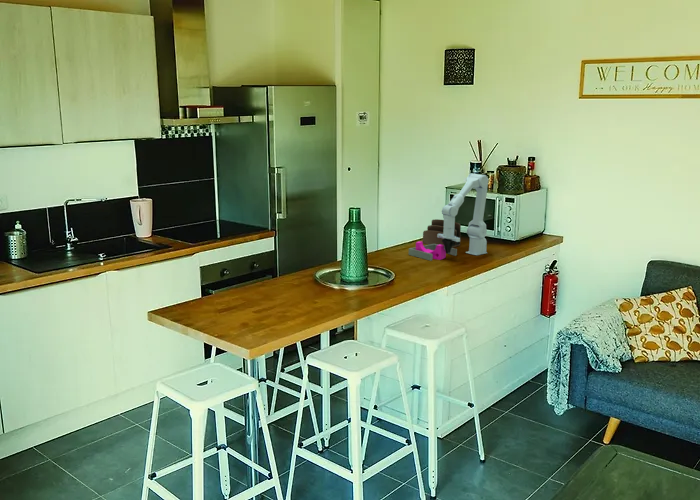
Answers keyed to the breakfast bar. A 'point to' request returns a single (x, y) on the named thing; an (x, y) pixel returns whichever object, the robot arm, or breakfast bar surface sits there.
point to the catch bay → (427, 255)
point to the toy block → (437, 253)
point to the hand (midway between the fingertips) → (447, 252)
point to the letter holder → (437, 228)
